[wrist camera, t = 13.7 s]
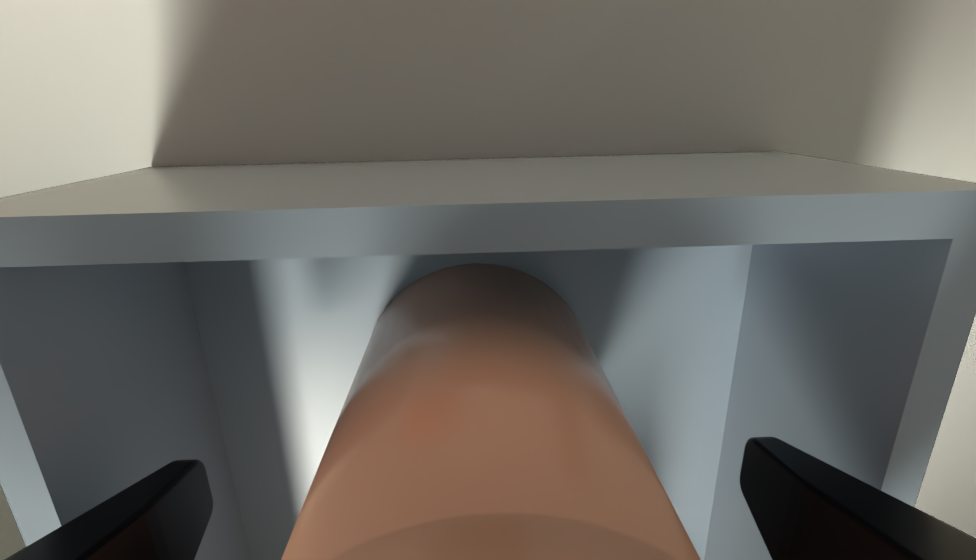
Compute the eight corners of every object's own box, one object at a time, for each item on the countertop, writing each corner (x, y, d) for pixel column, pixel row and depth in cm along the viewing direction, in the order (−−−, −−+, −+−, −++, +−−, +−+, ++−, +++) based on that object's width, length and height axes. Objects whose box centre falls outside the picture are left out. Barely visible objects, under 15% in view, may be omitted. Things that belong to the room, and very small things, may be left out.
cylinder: (591, 259, 11) (785, 498, 4) (582, 454, 13) (712, 842, 6) (356, 267, 11) (182, 528, 4) (377, 463, 12) (278, 873, 6)
